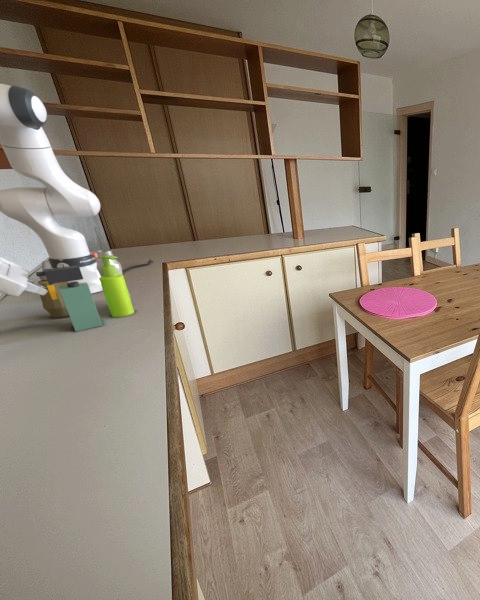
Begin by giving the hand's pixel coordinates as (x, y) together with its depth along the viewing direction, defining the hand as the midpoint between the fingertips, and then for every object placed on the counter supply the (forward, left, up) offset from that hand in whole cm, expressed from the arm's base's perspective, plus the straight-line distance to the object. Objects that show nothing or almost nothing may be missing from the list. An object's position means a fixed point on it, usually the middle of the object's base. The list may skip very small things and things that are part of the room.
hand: (46, 292), depth 88 cm
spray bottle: (-2, +4, -12) cm, 13 cm away
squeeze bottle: (-15, -7, -13) cm, 21 cm away
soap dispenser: (-11, +11, -13) cm, 20 cm away
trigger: (-1, +1, -2) cm, 2 cm away
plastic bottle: (-19, +7, -13) cm, 24 cm away
